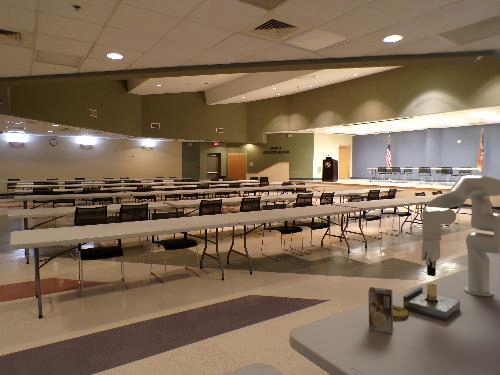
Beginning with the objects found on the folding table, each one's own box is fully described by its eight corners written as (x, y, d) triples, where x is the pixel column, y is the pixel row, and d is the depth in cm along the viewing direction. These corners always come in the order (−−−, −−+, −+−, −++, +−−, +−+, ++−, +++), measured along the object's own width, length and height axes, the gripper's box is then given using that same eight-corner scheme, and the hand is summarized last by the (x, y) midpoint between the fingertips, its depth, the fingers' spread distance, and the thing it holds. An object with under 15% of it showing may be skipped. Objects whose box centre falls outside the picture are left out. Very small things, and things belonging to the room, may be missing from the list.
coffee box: (393, 327, 138) (393, 289, 138) (392, 334, 133) (392, 294, 132) (370, 323, 143) (370, 286, 142) (368, 329, 137) (367, 291, 136)
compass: (388, 307, 159) (388, 302, 159) (413, 315, 150) (413, 310, 150) (374, 314, 152) (374, 309, 152) (399, 323, 142) (399, 318, 142)
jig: (419, 299, 167) (419, 286, 167) (459, 310, 154) (460, 296, 153) (403, 309, 155) (403, 296, 155) (445, 322, 142) (445, 307, 141)
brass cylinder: (428, 303, 157) (428, 282, 157) (438, 305, 154) (438, 284, 154) (425, 305, 155) (425, 284, 154) (434, 308, 152) (434, 286, 151)
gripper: (429, 233, 161) (429, 270, 161) (416, 237, 151) (416, 277, 152) (446, 235, 155) (446, 273, 156) (433, 239, 145) (433, 280, 146)
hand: (431, 275), depth 154 cm, fingers closed
